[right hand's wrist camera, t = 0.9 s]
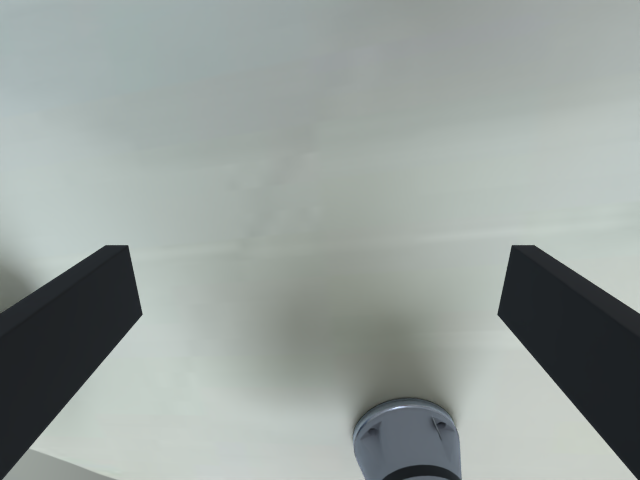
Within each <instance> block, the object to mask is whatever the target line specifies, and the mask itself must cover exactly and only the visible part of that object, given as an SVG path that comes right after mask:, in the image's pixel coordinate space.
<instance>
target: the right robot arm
mask: <svg viewBox="0 0 640 480" xmlns="http://www.w3.org/2000/svg"><path fill="white" fill-rule="evenodd" d="M142 315H143V314H142V309H141V305H140V300H139V295H138V290H137V286H136V281H135V276H134V271H133V266H132V262H131V257H130V252H129V247H128V245H105V246H104V247H102V248H101V249H99V250H98V251H96V252H95V253H93V254H92V255H90V256H88V257H87V258H85V259H84V260H82V261H81V262H79V263H78V264H76V265H75V266H73V267H72V268H70V269H68V270H67V271H65V272H64V273H62V274H61V275H59V276H58V277H56V278H55V279H53V280H52V281H50V282H48V283H47V284H45V285H44V286H42V287H41V288H39V289H38V290H36V291H35V292H33V293H32V294H30V295H28V296H27V297H25V298H24V299H22V300H21V301H19V302H18V303H16V304H15V305H13V306H12V307H10V308H9V309H7V310H5V311H4V312H2V313H1V314H0V480H2V479H3V478H4V477H5V476H6V474H7V473H8V472H9V471H10V470H11V469H12V467H13V466H14V465H15V464H16V463H17V462H18V460H19V459H20V458H21V457H22V456H23V454H24V453H25V452H26V451H27V450H28V449H29V447H30V446H31V445H32V444H33V443H34V442H35V440H36V439H37V438H38V437H39V436H40V435H41V433H42V432H43V431H44V430H45V429H46V428H47V426H48V425H49V424H50V423H51V422H52V420H53V419H54V418H55V417H56V416H57V415H58V413H59V412H60V411H61V410H62V409H63V408H64V406H65V405H66V404H67V403H68V402H69V400H70V399H71V398H72V397H73V396H74V395H75V393H76V392H77V391H78V390H79V389H80V388H81V386H82V385H83V384H84V383H85V382H86V380H87V379H88V378H89V377H90V376H91V375H92V373H93V372H94V371H95V370H96V369H97V368H98V366H99V365H100V364H101V363H102V362H103V360H104V359H105V358H106V357H107V356H108V355H109V353H110V352H111V351H112V350H113V349H114V348H115V346H116V345H117V344H118V343H119V342H120V341H121V339H122V338H123V337H124V336H125V335H126V333H127V332H128V331H129V330H130V329H131V328H132V326H133V325H134V324H135V323H136V322H137V321H138V319H139V318H140V317H141V316H142ZM497 315H498V316H499V317H500V318H501V319H502V321H503V322H504V323H505V324H506V325H507V326H508V328H509V329H510V330H511V331H512V332H513V333H514V335H515V336H516V337H517V338H518V339H519V341H520V342H521V343H522V344H523V345H524V346H525V348H526V349H527V350H528V351H529V352H530V353H531V355H532V356H533V357H534V358H535V359H536V360H537V362H538V363H539V364H540V365H541V366H542V368H543V369H544V370H545V371H546V372H547V373H548V375H549V376H550V377H551V378H552V379H553V380H554V382H555V383H556V384H557V385H558V386H559V388H560V389H561V390H562V391H563V392H564V393H565V395H566V396H567V397H568V398H569V399H570V400H571V402H572V403H573V404H574V405H575V406H576V408H577V409H578V410H579V411H580V412H581V413H582V415H583V416H584V417H585V418H586V419H587V420H588V422H589V423H590V424H591V425H592V426H593V428H594V429H595V430H596V431H597V432H598V433H599V435H600V436H601V437H602V438H603V439H604V440H605V442H606V443H607V444H608V445H609V446H610V447H611V449H612V450H613V451H614V452H615V453H616V455H617V456H618V457H619V458H620V459H621V460H622V462H623V463H624V464H625V465H626V466H627V467H628V469H629V470H630V471H631V472H632V473H633V475H634V476H635V477H636V478H637V479H638V480H640V314H639V313H638V312H636V311H635V310H633V309H631V308H630V307H628V306H627V305H625V304H624V303H622V302H621V301H619V300H618V299H616V298H615V297H613V296H612V295H610V294H608V293H607V292H605V291H604V290H602V289H601V288H599V287H598V286H596V285H595V284H593V283H592V282H590V281H588V280H587V279H585V278H584V277H582V276H581V275H579V274H578V273H576V272H575V271H573V270H572V269H570V268H568V267H567V266H565V265H564V264H562V263H561V262H559V261H558V260H556V259H555V258H553V257H552V256H550V255H548V254H547V253H545V252H544V251H542V250H541V249H539V248H538V247H536V246H535V245H512V247H511V252H510V257H509V262H508V266H507V271H506V276H505V281H504V286H503V290H502V295H501V300H500V305H499V309H498V314H497ZM353 444H354V453H355V457H356V459H357V462H358V464H359V466H360V469H361V471H362V473H363V475H364V477H365V479H366V480H462V477H461V458H460V441H459V435H458V432H457V429H456V427H455V424H454V422H453V420H452V418H451V417H450V415H449V414H448V413H447V412H446V411H445V410H444V409H443V408H441V407H440V406H438V405H436V404H434V403H432V402H429V401H426V400H422V399H414V398H403V399H396V400H391V401H388V402H385V403H382V404H380V405H378V406H376V407H374V408H372V409H371V410H369V411H368V412H367V413H366V414H365V415H364V416H362V418H361V419H360V420H359V422H358V423H357V425H356V427H355V430H354V434H353Z"/></svg>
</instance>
